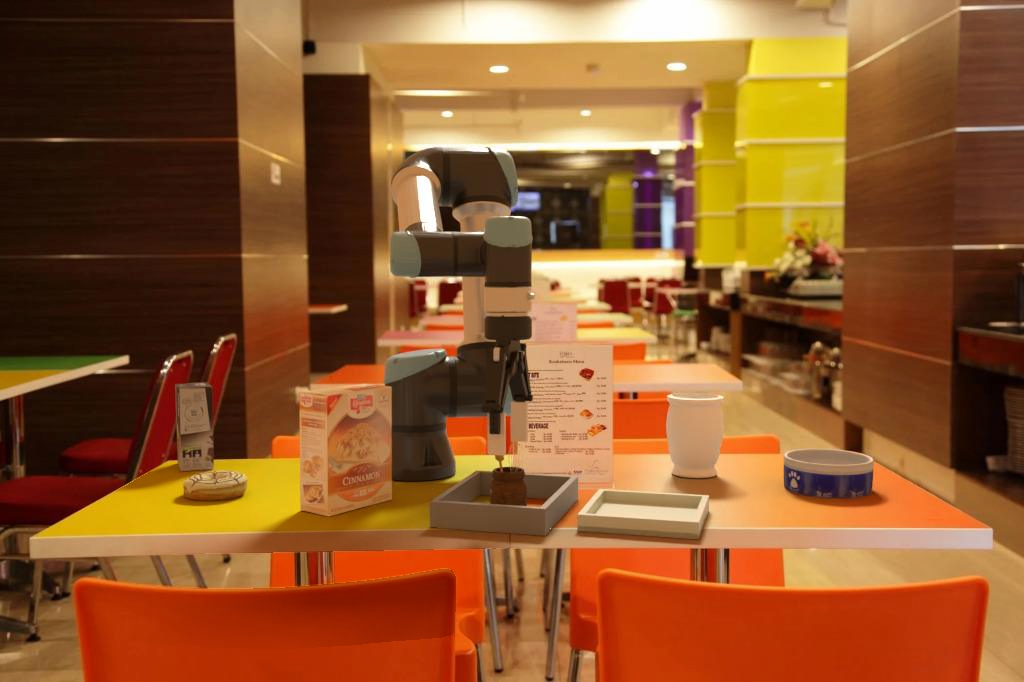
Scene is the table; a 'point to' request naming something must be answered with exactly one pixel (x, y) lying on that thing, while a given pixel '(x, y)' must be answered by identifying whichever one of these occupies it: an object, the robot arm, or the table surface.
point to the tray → (644, 513)
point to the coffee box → (194, 426)
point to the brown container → (508, 484)
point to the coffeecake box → (345, 448)
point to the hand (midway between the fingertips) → (508, 448)
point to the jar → (694, 433)
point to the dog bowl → (828, 473)
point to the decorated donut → (215, 485)
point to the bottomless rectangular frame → (463, 515)
